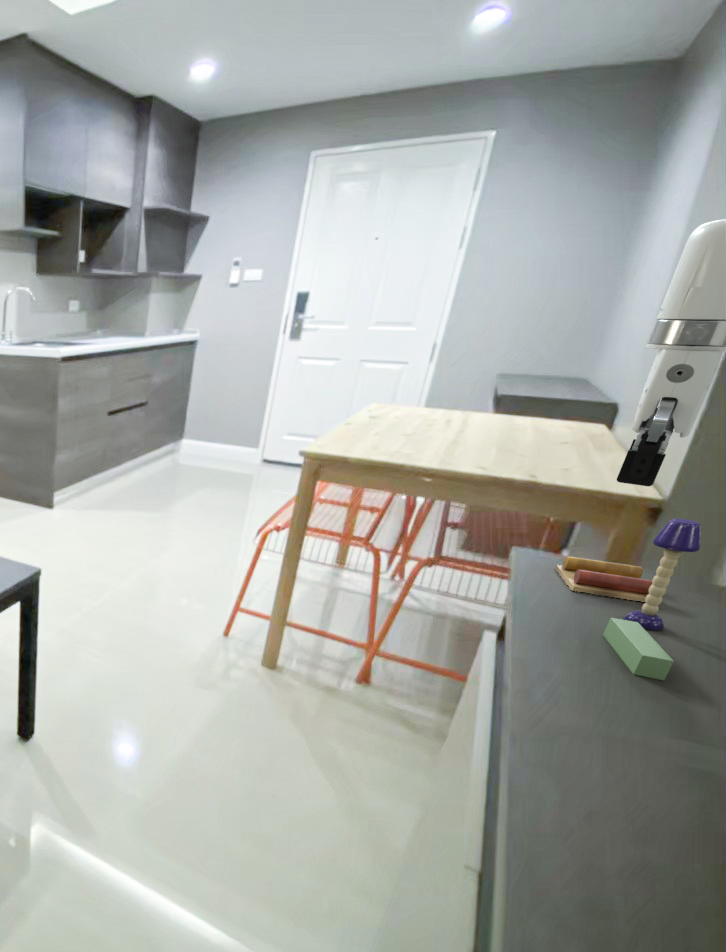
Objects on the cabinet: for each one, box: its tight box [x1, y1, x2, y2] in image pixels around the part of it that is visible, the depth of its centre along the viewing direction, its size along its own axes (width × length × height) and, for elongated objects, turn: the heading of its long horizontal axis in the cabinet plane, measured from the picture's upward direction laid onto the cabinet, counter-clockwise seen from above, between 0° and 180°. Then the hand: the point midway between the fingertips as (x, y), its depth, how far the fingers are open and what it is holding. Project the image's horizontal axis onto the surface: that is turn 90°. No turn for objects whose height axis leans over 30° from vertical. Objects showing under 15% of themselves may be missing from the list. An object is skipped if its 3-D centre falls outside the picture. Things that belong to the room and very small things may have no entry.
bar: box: [602, 617, 674, 681], centre depth 84 cm, size 12×3×3 cm, turn 151°
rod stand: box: [554, 555, 653, 603], centre depth 106 cm, size 11×11×3 cm
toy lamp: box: [623, 518, 701, 631], centre depth 91 cm, size 5×5×17 cm
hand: (636, 477), depth 78 cm, fingers open, 9 cm apart
